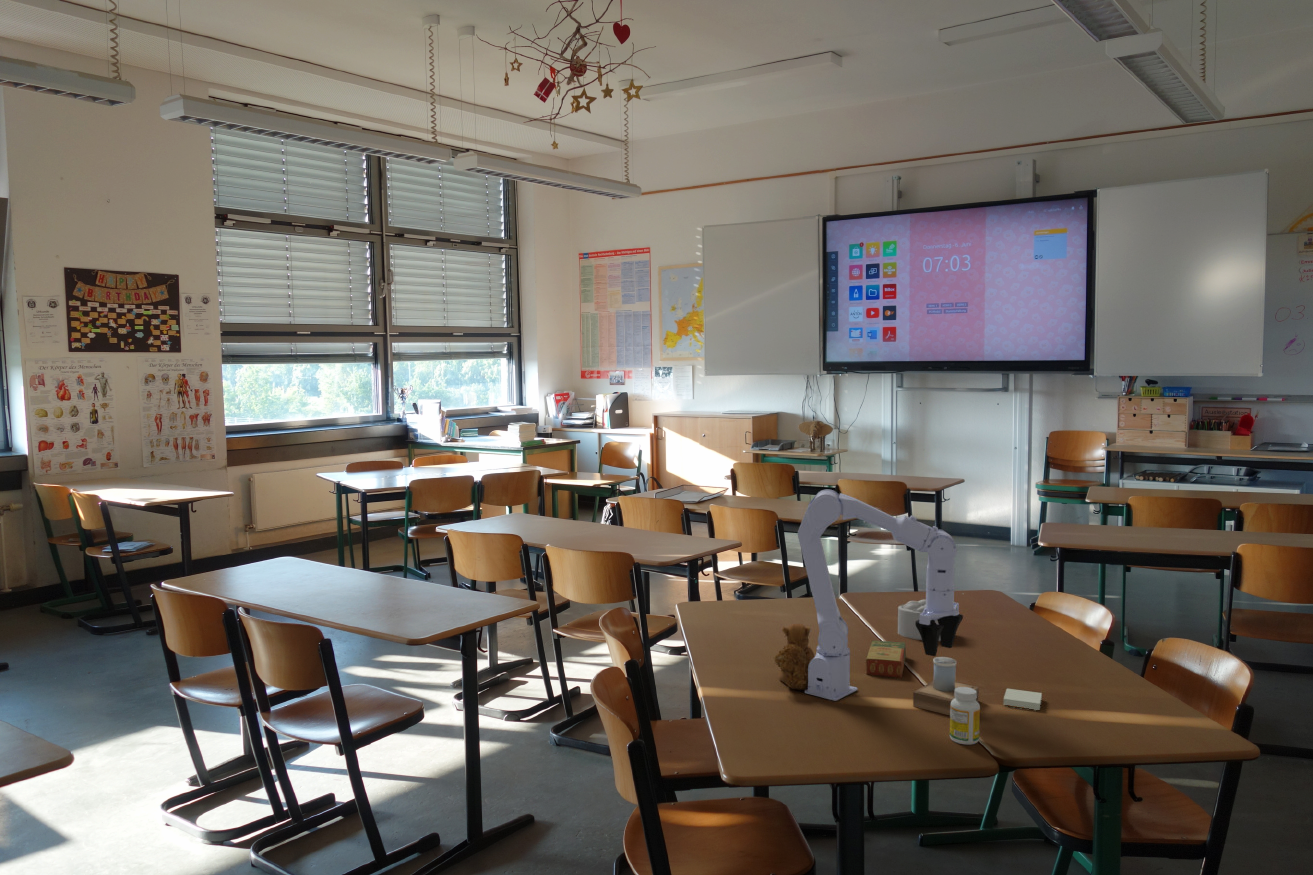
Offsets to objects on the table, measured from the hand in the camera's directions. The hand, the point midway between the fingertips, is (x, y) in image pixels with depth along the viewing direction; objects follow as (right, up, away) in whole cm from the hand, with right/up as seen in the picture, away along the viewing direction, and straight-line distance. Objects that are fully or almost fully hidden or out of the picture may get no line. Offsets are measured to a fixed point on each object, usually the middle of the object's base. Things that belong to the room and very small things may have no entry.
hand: (938, 650), depth 199 cm
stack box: (+1, -11, -2) cm, 11 cm away
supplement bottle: (-2, -12, -22) cm, 25 cm away
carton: (-6, -9, +23) cm, 26 cm away
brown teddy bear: (-29, -10, +10) cm, 32 cm away
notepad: (+17, -11, -2) cm, 20 cm away
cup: (0, -7, -2) cm, 8 cm away
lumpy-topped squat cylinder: (+11, -7, +49) cm, 51 cm away
